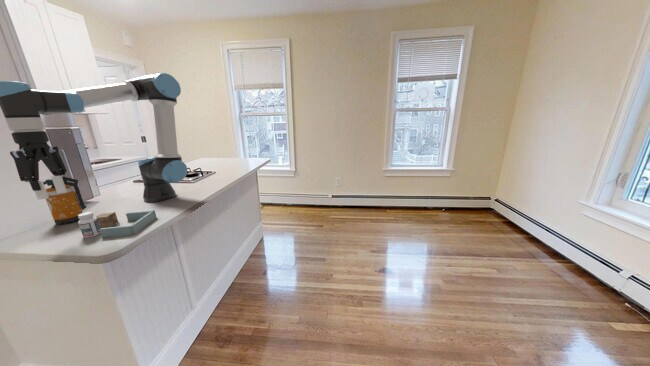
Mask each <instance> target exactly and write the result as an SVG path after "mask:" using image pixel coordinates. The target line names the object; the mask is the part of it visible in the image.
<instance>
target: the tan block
mask: <svg viewBox="0 0 650 366" xmlns="http://www.w3.org/2000/svg"><path fill="white" fill-rule="evenodd" d="M95 217H96V218H97V219H98V222H99V225H100V228H108V227H115V225H117V224H118V223H119V220H118V217H117V214H116V212H115V211H113V212H102V213H99V214H98V215H96V216H95Z"/></svg>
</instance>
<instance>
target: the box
mask: <svg viewBox="0 0 650 366" xmlns="http://www.w3.org/2000/svg"><path fill="white" fill-rule="evenodd" d="M125 215H126V219H127V222H131V221H135V222H134V223H131V225H130V224H129V225H121V226H120V225H119V226H112V227H108V228H101V229H100V232H101V233H100V235H101V238H104V239H105V238H112V237H121V236H122V237H123V236H131V235H132V236H133V235H136V234H137V233H138V232H139V231H141V230H142V229H144V228H145V227H146V226H148V225H149V224H151V222H153V221H154V220H156V219H157V213H156V211H155V210H154V209H153V210H143V211H134V212H133V211H132V212H126V213H125Z"/></svg>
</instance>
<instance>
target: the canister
mask: <svg viewBox="0 0 650 366" xmlns="http://www.w3.org/2000/svg"><path fill="white" fill-rule="evenodd" d="M63 179H64V181H65V183H64V184H65V187H66V190H67V192H66V193H57V191H56V188H55V186H54V183H53V180H52V178H51V179H49V178H48V179H45V180H44V181H43V184H44V186H45V185H47V186H48V187H47V188H45V189H46V191H47V194H48V196H49V198H48V199H45V201H46V204H47V206H48V208H49V211H50V213H51V216H52V219H53V221H54V224H56V225H59V224H61V225H63V224H62V223H66V224H70V223H69V222H71V223H74V221H75V222H77V221H79V220H80V219H79V218H78V215H79V214H82V213H84V212H83V211H84V210H85V209H86V208H87V207H88V206H87V205H86V204H84V203H85V202H84V201H83V200H84V199H83V197H82V195H81V190H80V187H79V185H78V183H79V179H77V178H76V179H75V178H71V177H66V176H63ZM50 186H51V187H50ZM73 188H74V190H73Z"/></svg>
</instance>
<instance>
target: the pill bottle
mask: <svg viewBox="0 0 650 366" xmlns="http://www.w3.org/2000/svg"><path fill="white" fill-rule="evenodd" d="M78 218H79V220H77V221H78V222H77V224H78V227H79V230H80V232H81V234H82V237H83V238H86V239H87V238H93V237H96V236H98V235H101V232H100V229H101V228H100V225H99V222H98V219H97V218H96V216H94V212H93V211H86V212H83V213H82V214H79V215H78Z"/></svg>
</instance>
